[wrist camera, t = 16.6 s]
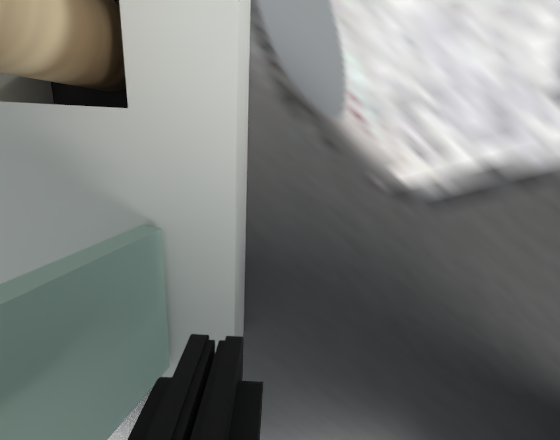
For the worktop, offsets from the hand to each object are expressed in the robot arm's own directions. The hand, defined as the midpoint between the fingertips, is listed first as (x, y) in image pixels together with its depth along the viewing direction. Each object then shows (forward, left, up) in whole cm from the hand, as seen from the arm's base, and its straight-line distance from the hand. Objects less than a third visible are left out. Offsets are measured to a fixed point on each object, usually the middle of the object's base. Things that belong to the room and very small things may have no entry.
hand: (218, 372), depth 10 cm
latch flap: (+5, 0, -1) cm, 5 cm away
